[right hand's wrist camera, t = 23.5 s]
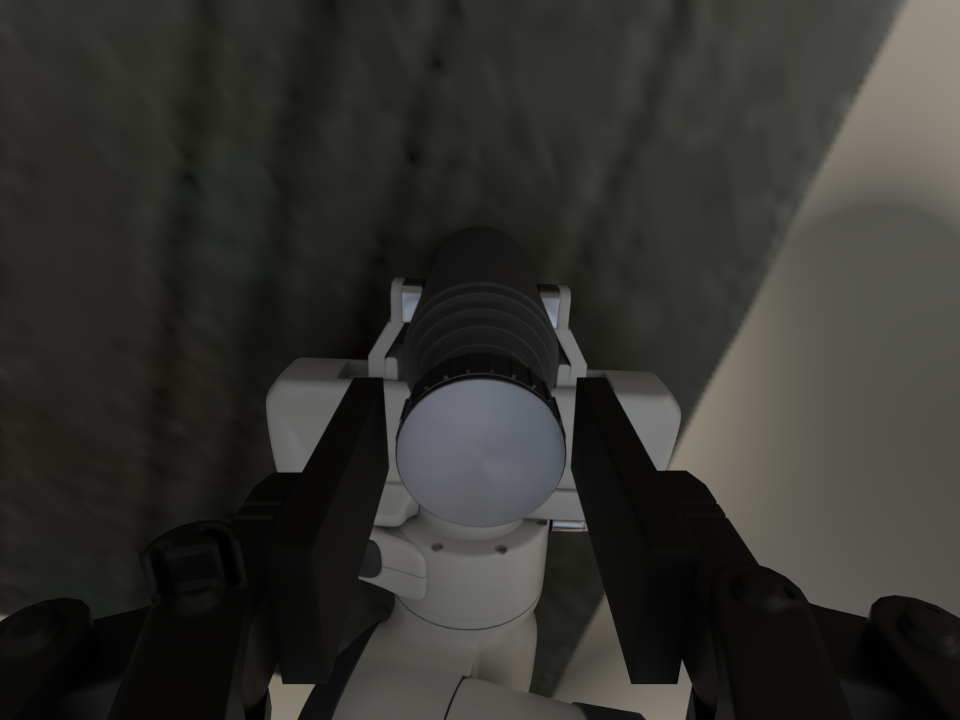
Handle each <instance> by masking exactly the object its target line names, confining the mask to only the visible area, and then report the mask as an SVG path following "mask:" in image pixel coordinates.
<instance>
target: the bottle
mask: <svg viewBox="0 0 960 720" xmlns="http://www.w3.org/2000/svg"><path fill="white" fill-rule="evenodd" d="M469 352H470V353H471V354H474V353H489V352H492V354H496V355H501V356H504V357H508V358H510V357H513V360H515V361H518V362H520V363H522V364H523V365H525V366H526V367H529V366H530V367H531V368H532V371H533V372H534V373H536V374H537V375H538V376H539V377H540V379H541V380H542V381H543V380H545V381H546V383H547V387H548V389H549V391H550V393H551V392H552V389H553V387H554V384H555V380H556V376H557V369H558V360H559V347H558V341H557V337H556V334H555V330H554V328H553V325H552V323H551V320H550V318H549V315H548V313H547V310H546V308H545V306H544V303H543V301H542V298H541V296H540V293H539V291H538V288H537V286H536V283H535V281H534V279H533V276H532V274H531V271H530V269H529V266H528V264H527V261H526V259H525V256H524V254H523V252H522V250H521V249H520V247H519V246H518V245H517V243H516V242H515V241H514V240H513V239H512V238H511V237H509V236H508V235H506V234H505V233H503V232H501V231H499V230H496V229H493V228H488V227H472V228H468V229H465V230H462V231H460V232H458V233H456V234H455V235H453V236H452V237H450V238H449V239H448V240H447V241H446V242H445V243H444V245H443V246H442V247H441V249H440V250H439V252H438V254H437V256H436V259H435V261H434V264H433V266H432V269H431V271H430V274H429V276H428V279H427V281H426V284H425V286H424V289H423V291H422V294H421V296H420V299H419V301H418V304H417V306H416V309H415V311H414V314H413V316H412V319H411V321H410V324H409V326H408V329H407V331H406V335H405V338H404V344H403V365H404V374H405V379H406V383H407V386H408V388H409V391H410V393H411V392H412V390H413V387H414V383H415V382H419V380H420V379H421V378H422V377H423V376H424V375H425V374H426V373H427V372H428V369H429V368H434V367H435V366H437V365H438V364H440V363H442V362H444V361H446V359H447V358H450V359H451V358H454V357H457V356H461V355H466V354H467V353H469Z"/></svg>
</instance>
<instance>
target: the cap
mask: <svg viewBox="0 0 960 720" xmlns="http://www.w3.org/2000/svg"><path fill="white" fill-rule="evenodd" d="M399 422H400V424H399V427H398V431H397V434H396V437H395V441H396V447H395V459H396V465H397V469H398V473H399V476H400V478H401V480H402V482H403V485H404V486H405V488H406V489H407V491H408V492H409V494H410V495H411V496H412V498H413V499H414V500H415V501H416V502H417V503H418V504H419V505H420V506H422V507H423V508H424V509H425V510H427V511H428V512H430V513H431V514H433V515H434V516H436V517H438V518H440V519H442V520H445V521H447V522H450V523H453V524H457V525H461V526H467V527H481V528H483V527H495V526H500V525H505V524H508V523H512V522H514V521H517V520H519V519H522V518H524V517H525V516H527V515H529V514H531V513H532V512H534V511H535V510H536V509H538V508H539V507H540V506H541V505H543V504H544V503H545V502H546V501H547V500H548V499H549V497H550V496H551V495H552V494H553V492H554V491H555V489H556V488H557V486H558V484H559V482H560V480H561V478H562V475H563V472H564V469H565V465H566V457H567V451H566V441H565V439H567V437H566V433H565V430H564V427H563V423H562V418H561V414H560V411H559V408H558V404H557V401H556V398H555V396H554V397H552V395H551V393H550V391H549V389H548V387H547V383H546V381H545V380H543V381H542V380H541V379H540V377H539V376H538V375H537V374H536V373H534V372H533V371H532V368H531V367H530V366H529V367H526V366H525V365H523V364H522V363H520V362H518V361H515V360H513V357H510V358H508V357H504V356H501V355H496V354H492V352H489V353H474V354H471V353H470V352H469V353H467V354H466V355H461V356H457V357H454V358H451V359H450V358H447V359H446V361H444V362H442V363H440V364H438V365H437V366H435V367H434V368H429V369H428V372H427V373H426V374H425V375H424V376H423V377H422V378H421V379H420V380H419V382H415V383H414V387H413V390H412V392H411V394H410V396H409V398H408V399H407V398H406V400H405V403H404V406H403V410H402V413H401V416H400V420H399Z"/></svg>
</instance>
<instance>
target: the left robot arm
mask: <svg viewBox="0 0 960 720" xmlns="http://www.w3.org/2000/svg"><path fill="white" fill-rule="evenodd" d="M425 284H426V280H425V279H412V278H395V279H394V280H393V282H392V286H391V317H390V319H389V321H388V322H387V324H386V326H385V327H384V329H383V331H382V332H381V334H380V336H379V337H378V339H377V341H376V343H375V344H374V346H373V348H372V350H371V352H370V354H369V355H368V360H354V359H331V358H308V357H303V358H298V359H296V360H295V361H293V362H292V363H291V364H290V365H289V366H288V367H287V368H286V369H285V370H284V371H283V372H282V373H281V374H280V375H279V376H278V378H277V379H276V380H275V382H274V383H273V384H272V386H271V388H270V389H269V392H268V394H267V398H266V414H267V423H268V430H269V436H270V442H271V447H272V452H273V457H274V461H275V465H276V469H277V472H302V471H303V469H304V467H305V465H306V464H307V462H308V460H309V458H310V456H311V455H312V453H313V451H314V449H315V447H316V445H317V444H318V442H319V440H320V438H321V436H322V434H323V433H324V431H325V429H326V427H327V425H328V424H329V422H330V420H331V418H332V416H333V414H334V413H335V411H336V409H337V407H338V405H339V403H340V402H341V400H342V398H343V396H344V394H345V393H346V391H347V389H348V387H349V385H350V383H351V382H352V380H353V378H354V377H383V382H384V396H385V411H386V425H387V440H388V454H389V472H388V475H387V479H386V482H385V486H384V489H383V493H382V496H381V500H380V503H379V507H378V511H377V514H376V518H375V521H374V525H373V528H372V532H371V535H370V539H369V542H368V546H367V550H366V553H365V557H364V560H363V564H362V567H361V571H360V574H359V578H358V579H361V580H364V581H367V582H369V583H372V584H375V585H377V586H379V587H382V588H384V589H386V590H389V591H391V592H393V593H394V594H395V604H394V608H393V611H392V614H391V616H390V618H389V619H388V620H387V621H384V622H383V620H380V621H379V622H377V623H375V624H374V625H372V626H371V627H369V628H368V629H367V630H366V631H364V632H363V633H362V634H361V635H360V636H359V637H358V638H357V639H356V640H354V641H353V642H352V643H351V644H350V645H349V646H348V647H347V648H346V649H345V650H344V651H343V652H341V653H340V654H339V655H338V656H337V657H336V659H335V663H334V667H333V670H332V674H331V677H330V681H329V684H316V685H315V686H314V688H313V690H312V692H311V693H310V695H309V697H308V699H307V701H306V703H305V705H304V707H303V709H302V711H301V713H300V715H299V718H298V720H646V719H645V718H644V717H643V716H642V715H641V714H640V713H636V712H630V711H624V710H618V709H613V708H607V707H601V706H596V705H590V704H584V703H578V702H573V703H572V704H569V703H565V702H562V701H558V700H554V699H551V698H547V697H543V696H540V695H536V694H532V693H529V692H528V691H529V686H530V682H531V677H532V672H533V666H534V659H535V652H536V643H537V625H536V619H535V615H534V612H533V610H534V608H535V607H536V605H537V603H538V600H539V598H540V595H541V591H542V586H543V579H544V570H545V560H546V551H547V543H548V533H550V531H555V532H587V531H588V528H587V525H586V521H585V518H584V514H583V511H582V507H581V503H580V500H579V496H578V493H577V489H576V486H575V482H574V479H573V475H572V472H571V454H572V440H573V425H574V411H575V396H576V381H577V377H606V378H607V380H608V382H609V383H610V385H611V387H612V389H613V391H614V393H615V394H616V396H617V398H618V400H619V402H620V404H621V405H622V407H623V409H624V411H625V413H626V414H627V416H628V418H629V420H630V422H631V424H632V425H633V427H634V429H635V431H636V433H637V435H638V436H639V438H640V440H641V442H642V444H643V445H644V447H645V449H646V451H647V453H648V455H649V456H650V458H651V460H652V462H653V464H654V466H655V467H656V469H657V471H666V468H667V465H668V462H669V459H670V457H671V454H672V450H673V447H674V444H675V441H676V437H677V433H678V429H679V425H680V420H681V411H680V408H679V405H678V403H677V401H676V400H675V398H674V397H673V395H672V394H671V392H670V391H669V389H668V388H667V387H666V386H665V385H664V384H663V383H662V382H661V380H660V379H659V378H658V377H657V376H656V375H654V374H653V373H651V372H643V371H618V370H594V369H587V364H586V362H585V360H584V358H583V356H582V353H581V351H580V349H579V347H578V345H577V343H576V341H575V339H574V337H573V334H572V332H571V330H570V328H569V326H568V321H569V312H570V302H571V292H570V289H569V288H568V286H567V285H553V284H537V288H538V291H539V293H540V296H541V298H542V301H543V303H544V306H545V308H546V310H547V313H548V315H549V318H550V320H551V323H552V325H553V328H554V330H555V333H556V335H557V337H558V339H559V341H560V343H561V345H562V347H563V349H564V352H563V350H559V360H558V369H557V376H556V380H555V384H554V387H553V389H552V392H551V395H552V397H554V396H555V398H556V401H557V404H558V408H559V411H560V414H561V418H562V423H563V427H564V430H565V433H566V437H567V439H565V441H566V451H567V457H566V465H565V469H564V472H563V475H562V478H561V480H560V482H559V484H558V486H557V488H556V489H555V491H554V492H553V494H552V495H551V496H550V497H549V499H548V500H547V501H546V502H545V503H544V504H543V505H541V506H540V507H539V508H538V509H536V510H535V511H534V512H532V513H531V514H529V515H527V516H525V517H524V518H522V519H519V520H517V521H514V522H512V523H508V524H505V525H500V526H495V527H483V528H481V527H467V526H461V525H457V524H453V523H450V522H447V521H445V520H442V519H440V518H438V517H436V516H434V515H433V514H431V513H430V512H428V511H427V510H425V509H424V508H423V507H422V506H420V505H419V504H418V503H417V502H416V501H415V500H414V499H413V498H412V496H411V495H410V494H409V492H408V491H407V489H406V488H405V486H404V485H403V482H402V480H401V478H400V476H399V473H398V469H397V465H396V459H395V447H396V441H395V437H396V434H397V431H398V427H399V424H400V422H399V420H400V416H401V413H402V410H403V406H404V403H405V400H406V398H407V399H408V398H409V396H410V394H411V393H410V391H409V388H408V386H407V383H406V379H405V374H404V365H403V345H402V344H401V343H393V342H394V340H395V339H396V337H397V335H398V334H399V332H400V330H401V329H402V327H403V325H404V324H405V322H410V321H411V319H412V316H413V314H414V311H415V309H416V306H417V304H418V301H419V299H420V296H421V294H422V291H423V289H424V286H425Z"/></svg>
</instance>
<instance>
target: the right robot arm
mask: <svg viewBox="0 0 960 720" xmlns="http://www.w3.org/2000/svg"><path fill="white" fill-rule="evenodd" d="M388 472H389V454H388V440H387V425H386V411H385V396H384V382H383V377H354V378H353V380H352V382H351V383H350V385H349V387H348V389H347V391H346V393H345V394H344V396H343V398H342V400H341V402H340V403H339V405H338V407H337V409H336V411H335V413H334V414H333V416H332V418H331V420H330V422H329V424H328V425H327V427H326V429H325V431H324V433H323V434H322V436H321V438H320V440H319V442H318V444H317V445H316V447H315V449H314V451H313V453H312V455H311V456H310V458H309V460H308V462H307V464H306V465H305V467H304V469H303V471H302V472H274V473H272V474H271V475H270V476H268V477H267V478H266V479H264V480H263V481H261V482H260V483H259V484H257V485H256V486H255V487H254V488H253V490H252V491H251V493H250V494H249V496H248V497H247V499H246V500H245V502H244V506H241V508H240V510H239V511H238V513H237V514H236V516H235V520H232V522H231V523H230V524H229V523H226V522H222V521H218V520H210V521H197V522H193V523H189V524H185V525H181V526H179V527H177V528H175V529H172V530H170V531H168V532H166V533H164V534H162V535H161V536H159V537H158V538H157V539H155V540H154V541H153V542H151V543H150V544H149V545H148V546H147V547H146V549H145V550H144V551H143V553H142V554H141V555H140V557H139V558H140V562H141V565H142V569H143V573H144V576H145V580H146V583H147V587H148V591H149V594H150V598H151V602H152V603H151V605H150V606H147V607H144V608H140V609H137V610H133V611H129V612H125V613H120V614H116V615H112V616H108V617H103V618H99V619H95V620H93V618H92V615H91V612H90V609H89V607H88V606H87V605H86V604H85V603H84V602H82V601H81V600H78V599H72V598H59V599H52V600H46V601H43V602H40V603H37V604H34V605H31V606H28V607H26V608H23V609H21V610H20V611H18V612H16V613H14V614H12V615H10V616H9V617H7V618H5V619H3V620H2V621H0V720H271V710H272V707H271V700H270V693H269V688H268V686H269V683H270V680H271V678H272V675H273V673H274V670H275V668H276V665H277V663H278V661H279V666H280V672H281V678H282V683H283V684H329V681H330V677H331V674H332V670H333V667H334V663H335V659H336V656H337V652H338V649H339V645H340V642H341V638H342V635H343V631H344V628H345V624H346V620H347V617H348V613H349V610H350V606H351V603H352V599H353V596H354V592H355V589H356V585H357V581H358V578H359V574H360V571H361V567H362V564H363V560H364V557H365V553H366V550H367V546H368V542H369V539H370V535H371V532H372V528H373V525H374V521H375V518H376V514H377V511H378V507H379V503H380V500H381V496H382V493H383V489H384V486H385V482H386V479H387V475H388ZM571 472H572V475H573V479H574V482H575V486H576V489H577V493H578V496H579V500H580V503H581V507H582V511H583V514H584V518H585V521H586V525H587V528H588V532H589V535H590V539H591V542H592V546H593V550H594V553H595V557H596V560H597V564H598V567H599V571H600V574H601V578H602V581H603V585H604V589H605V592H606V596H607V599H608V603H609V606H610V610H611V613H612V617H613V620H614V624H615V628H616V631H617V635H618V638H619V642H620V645H621V649H622V652H623V656H624V659H625V663H626V666H627V670H628V673H629V677H630V681H631V684H677V683H678V678H679V672H680V666H681V661H682V660H683V662H684V665H685V668H686V670H687V673H688V675H689V678H690V680H691V683H692V689H691V693H690V699H689V704H688V709H687V714H686V720H960V618H959V617H957V616H955V615H953V614H951V613H949V612H947V611H946V610H944V609H942V608H940V607H938V606H936V605H933V604H931V603H928V602H925V601H922V600H919V599H916V598H911V597H904V596H897V595H893V596H887V597H881V598H879V599H878V600H877V601H876V602H875V603H873V604H872V606H871V609H870V612H869V615H868V618H867V617H862V616H858V615H853V614H849V613H845V612H841V611H837V610H832V609H828V608H824V607H821V606H818V605H814V604H811V603H809V602H808V600H807V599H806V597H805V596H804V594H803V593H802V591H801V590H800V588H799V587H797V586H796V585H795V584H794V583H793V582H791V581H790V580H789V579H788V578H787V577H785V576H783V575H781V574H779V573H777V572H775V571H774V570H772V569H770V568H767V567H763V566H760V565H759V564H758V563H757V561H756V560H755V558H754V557H753V555H752V554H751V552H750V551H749V549H748V548H747V546H746V545H745V543H744V542H743V540H742V539H741V537H740V536H739V534H738V533H737V531H736V530H735V528H734V527H733V525H732V524H731V522H730V521H729V519H728V518H726V516H725V513H724V512H723V510H722V509H721V507H720V506H719V504H717V503H716V500H715V498H714V497H713V495H712V494H711V492H710V491H709V489H708V488H707V486H706V485H705V484H704V483H703V482H701V481H700V480H698V479H697V478H696V477H694V476H693V475H692V474H690V473H689V472H687V471H657V469H656V467H655V466H654V464H653V462H652V460H651V458H650V456H649V455H648V453H647V451H646V449H645V447H644V445H643V444H642V442H641V440H640V438H639V436H638V435H637V433H636V431H635V429H634V427H633V425H632V424H631V422H630V420H629V418H628V416H627V414H626V413H625V411H624V409H623V407H622V405H621V404H620V402H619V400H618V398H617V396H616V394H615V393H614V391H613V389H612V387H611V385H610V383H609V382H608V380H607V378H606V377H577V381H576V396H575V411H574V425H573V440H572V454H571Z"/></svg>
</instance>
